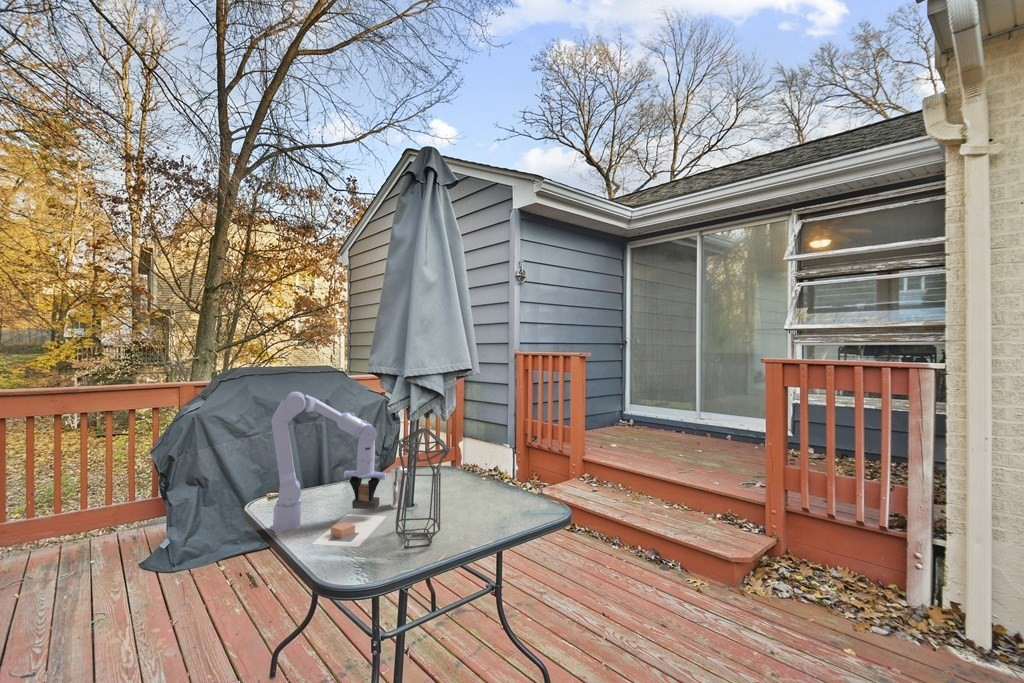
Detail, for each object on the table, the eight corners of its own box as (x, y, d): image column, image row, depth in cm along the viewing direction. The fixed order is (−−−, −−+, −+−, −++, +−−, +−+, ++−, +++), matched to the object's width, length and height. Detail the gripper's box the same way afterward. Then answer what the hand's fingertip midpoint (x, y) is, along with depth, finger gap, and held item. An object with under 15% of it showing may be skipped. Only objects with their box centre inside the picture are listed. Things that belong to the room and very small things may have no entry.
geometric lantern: (390, 533, 147) (397, 424, 149) (439, 531, 151) (445, 424, 153) (391, 553, 132) (399, 431, 134) (446, 550, 136) (453, 432, 138)
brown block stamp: (357, 502, 161) (356, 482, 160) (379, 504, 160) (379, 483, 159) (352, 508, 157) (351, 487, 156) (375, 509, 156) (374, 489, 155)
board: (346, 517, 160) (346, 514, 160) (386, 519, 159) (386, 516, 159) (311, 548, 134) (311, 544, 134) (358, 550, 133) (358, 546, 133)
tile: (344, 529, 146) (344, 521, 146) (354, 533, 143) (355, 525, 143) (330, 534, 141) (331, 526, 141) (341, 538, 139) (341, 530, 139)
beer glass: (407, 511, 168) (409, 470, 168) (387, 512, 167) (389, 470, 167) (408, 505, 175) (410, 465, 175) (389, 505, 173) (391, 465, 174)
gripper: (340, 461, 154) (338, 501, 153) (382, 463, 152) (380, 504, 152) (349, 456, 161) (347, 495, 160) (389, 458, 159) (388, 498, 159)
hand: (364, 499), depth 157 cm, fingers closed on brown block stamp, 4 cm apart
